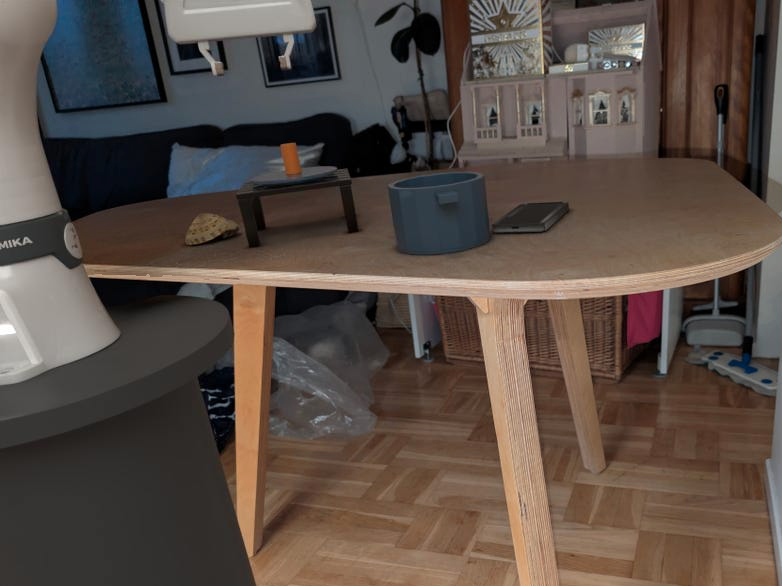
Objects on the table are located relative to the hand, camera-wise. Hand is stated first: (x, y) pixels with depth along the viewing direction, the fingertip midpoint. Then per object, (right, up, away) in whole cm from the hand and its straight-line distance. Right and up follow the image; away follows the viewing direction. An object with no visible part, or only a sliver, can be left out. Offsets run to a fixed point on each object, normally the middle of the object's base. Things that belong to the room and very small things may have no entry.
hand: (253, 72), depth 101 cm
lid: (+3, -12, +10) cm, 16 cm away
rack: (+4, -20, +13) cm, 24 cm away
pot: (+28, -26, -6) cm, 38 cm away
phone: (+40, -21, +1) cm, 46 cm away
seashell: (-11, -22, +14) cm, 28 cm away
